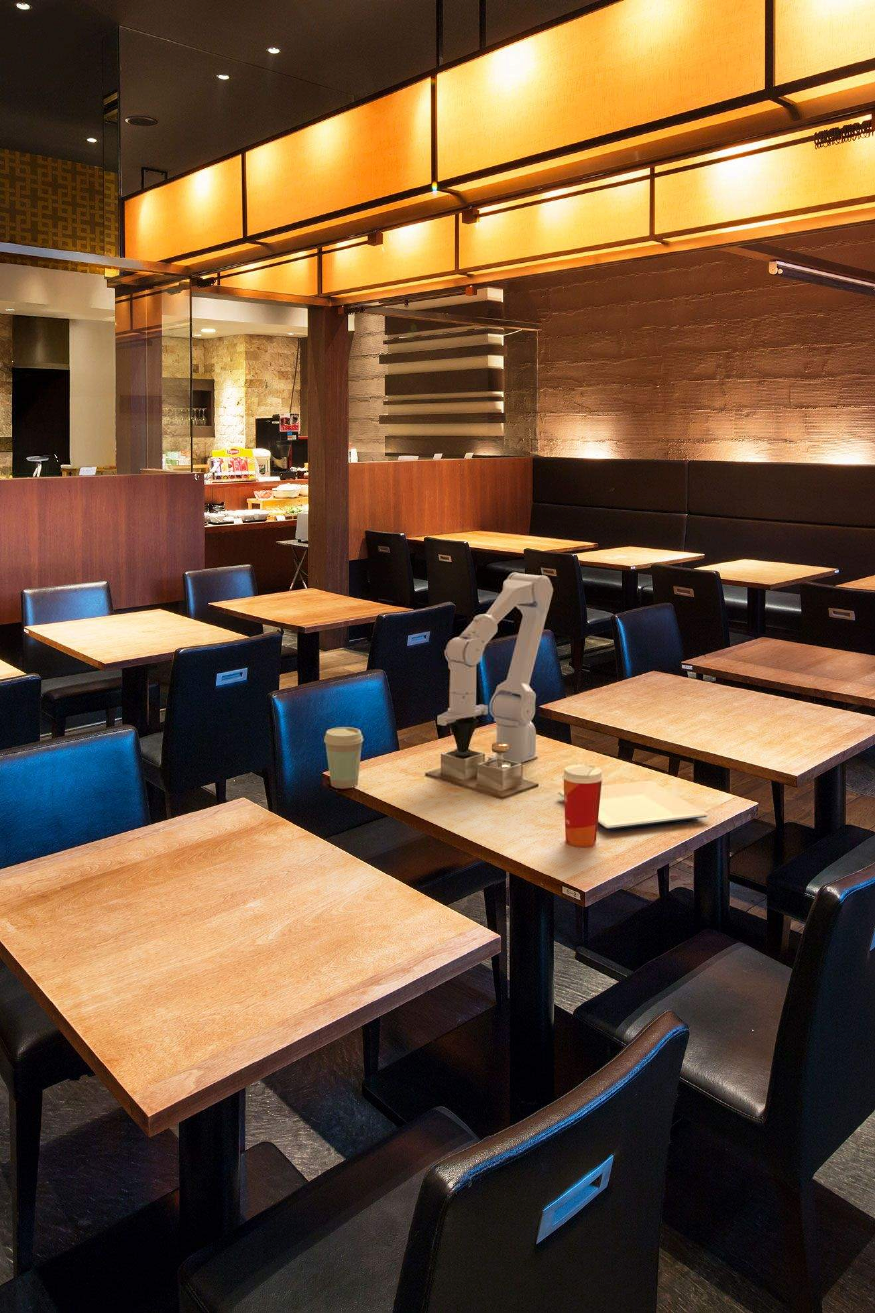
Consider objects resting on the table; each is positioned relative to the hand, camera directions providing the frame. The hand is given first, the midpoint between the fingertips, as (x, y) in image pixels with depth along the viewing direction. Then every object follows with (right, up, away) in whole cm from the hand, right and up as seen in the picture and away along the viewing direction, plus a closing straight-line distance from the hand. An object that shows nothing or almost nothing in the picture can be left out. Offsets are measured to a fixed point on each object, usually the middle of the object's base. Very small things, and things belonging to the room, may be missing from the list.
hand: (462, 750), depth 227 cm
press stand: (+4, -6, -3) cm, 8 cm away
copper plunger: (+8, -3, -7) cm, 11 cm away
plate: (+34, -11, -21) cm, 41 cm away
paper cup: (+21, -14, -38) cm, 46 cm away
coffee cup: (-26, -7, -5) cm, 28 cm away
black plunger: (0, -5, +1) cm, 5 cm away
